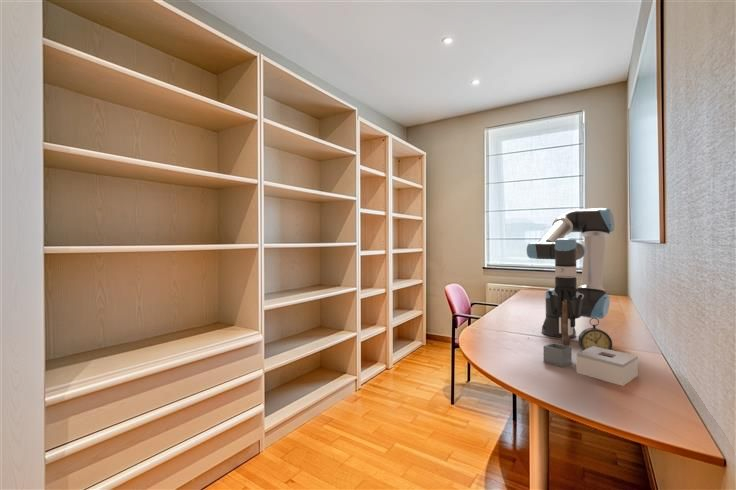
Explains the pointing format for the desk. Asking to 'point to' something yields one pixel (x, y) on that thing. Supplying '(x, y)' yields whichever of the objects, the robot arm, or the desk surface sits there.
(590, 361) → the white box
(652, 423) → the desk surface
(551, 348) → the pen cup
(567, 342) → the brown wooden rod
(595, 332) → the alarm clock
